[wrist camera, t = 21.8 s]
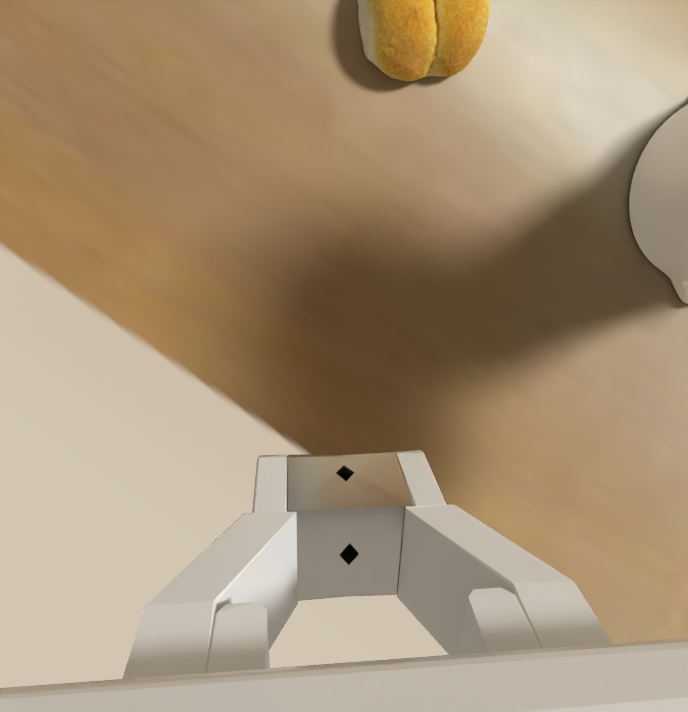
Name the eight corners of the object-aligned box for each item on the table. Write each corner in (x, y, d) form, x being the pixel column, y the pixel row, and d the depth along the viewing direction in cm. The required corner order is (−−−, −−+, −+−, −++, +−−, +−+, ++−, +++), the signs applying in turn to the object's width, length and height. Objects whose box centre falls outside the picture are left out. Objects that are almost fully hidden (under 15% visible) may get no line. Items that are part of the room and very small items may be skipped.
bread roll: (483, 73, 39) (507, 58, 35) (366, 90, 38) (377, 77, 34) (474, -58, 37) (498, -89, 33) (348, -43, 36) (358, -73, 32)
